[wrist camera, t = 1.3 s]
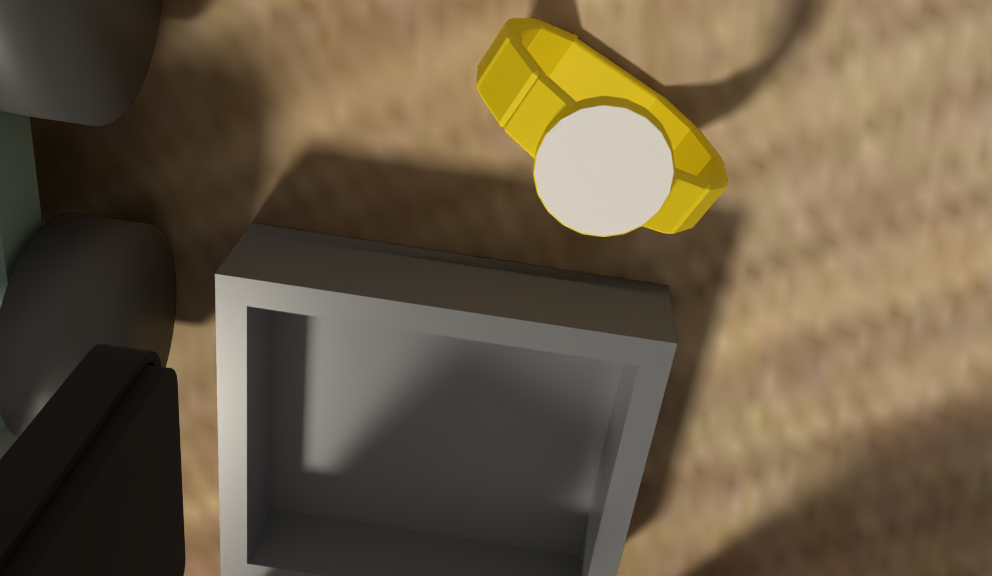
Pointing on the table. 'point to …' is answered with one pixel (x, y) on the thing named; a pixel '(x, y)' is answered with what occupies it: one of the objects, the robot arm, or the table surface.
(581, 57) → the watch
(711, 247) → the table surface
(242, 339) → the tray
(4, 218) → the grey-green toy cart
